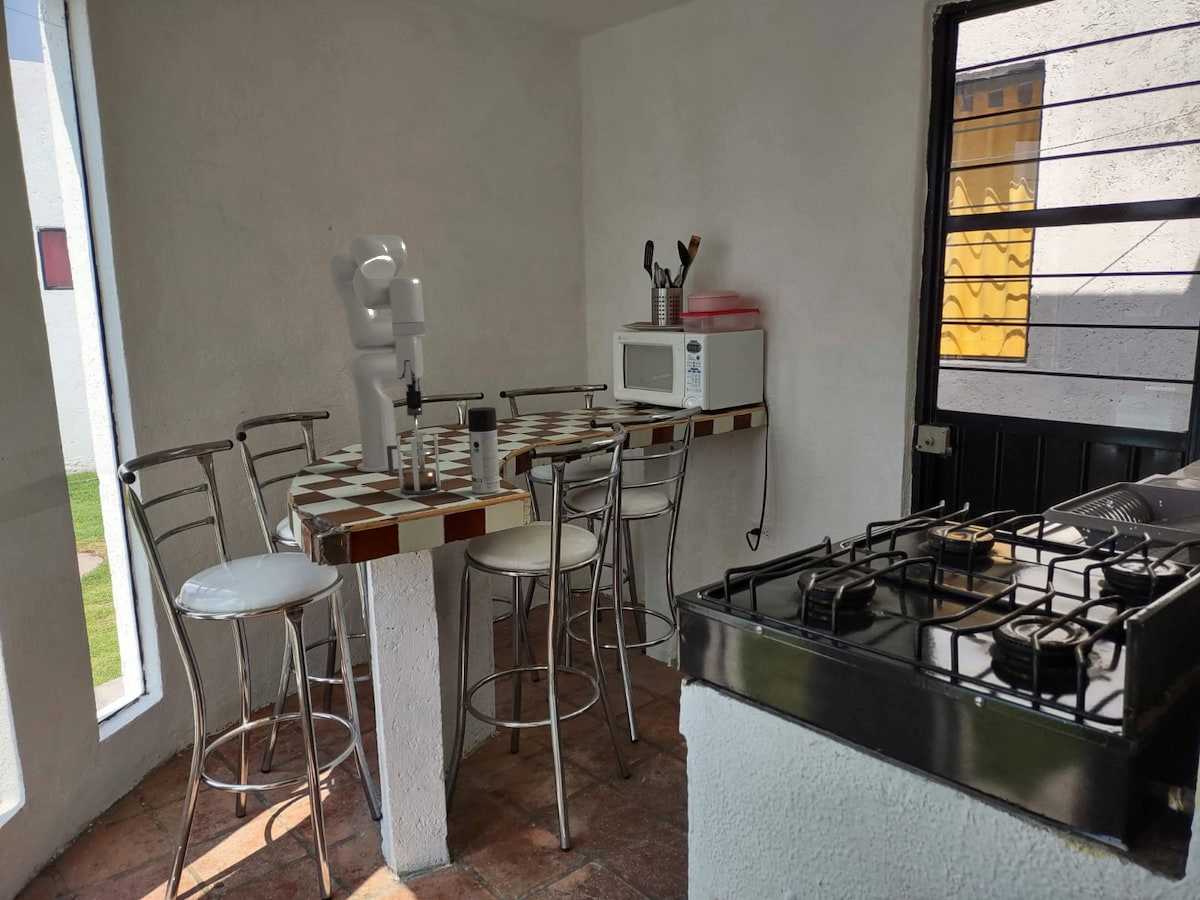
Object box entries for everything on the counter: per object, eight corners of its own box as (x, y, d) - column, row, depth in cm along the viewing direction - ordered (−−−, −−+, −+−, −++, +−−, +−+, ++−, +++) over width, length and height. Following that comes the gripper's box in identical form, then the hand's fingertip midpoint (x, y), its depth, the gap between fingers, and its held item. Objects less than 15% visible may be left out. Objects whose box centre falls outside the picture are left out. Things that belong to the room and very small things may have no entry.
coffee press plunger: (405, 451, 213) (402, 406, 211) (435, 450, 213) (431, 405, 211) (400, 457, 206) (396, 410, 204) (430, 456, 206) (427, 409, 204)
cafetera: (394, 487, 216) (390, 433, 213) (443, 485, 216) (439, 431, 214) (387, 496, 206) (382, 440, 204) (437, 494, 207) (433, 438, 204)
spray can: (474, 488, 212) (469, 407, 208) (502, 487, 212) (497, 406, 208) (469, 494, 205) (464, 411, 202) (498, 494, 205) (493, 410, 201)
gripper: (398, 329, 211) (404, 404, 214) (386, 332, 196) (392, 412, 200) (429, 328, 211) (435, 403, 215) (419, 331, 197) (425, 411, 200)
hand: (414, 407), depth 207 cm, fingers closed
